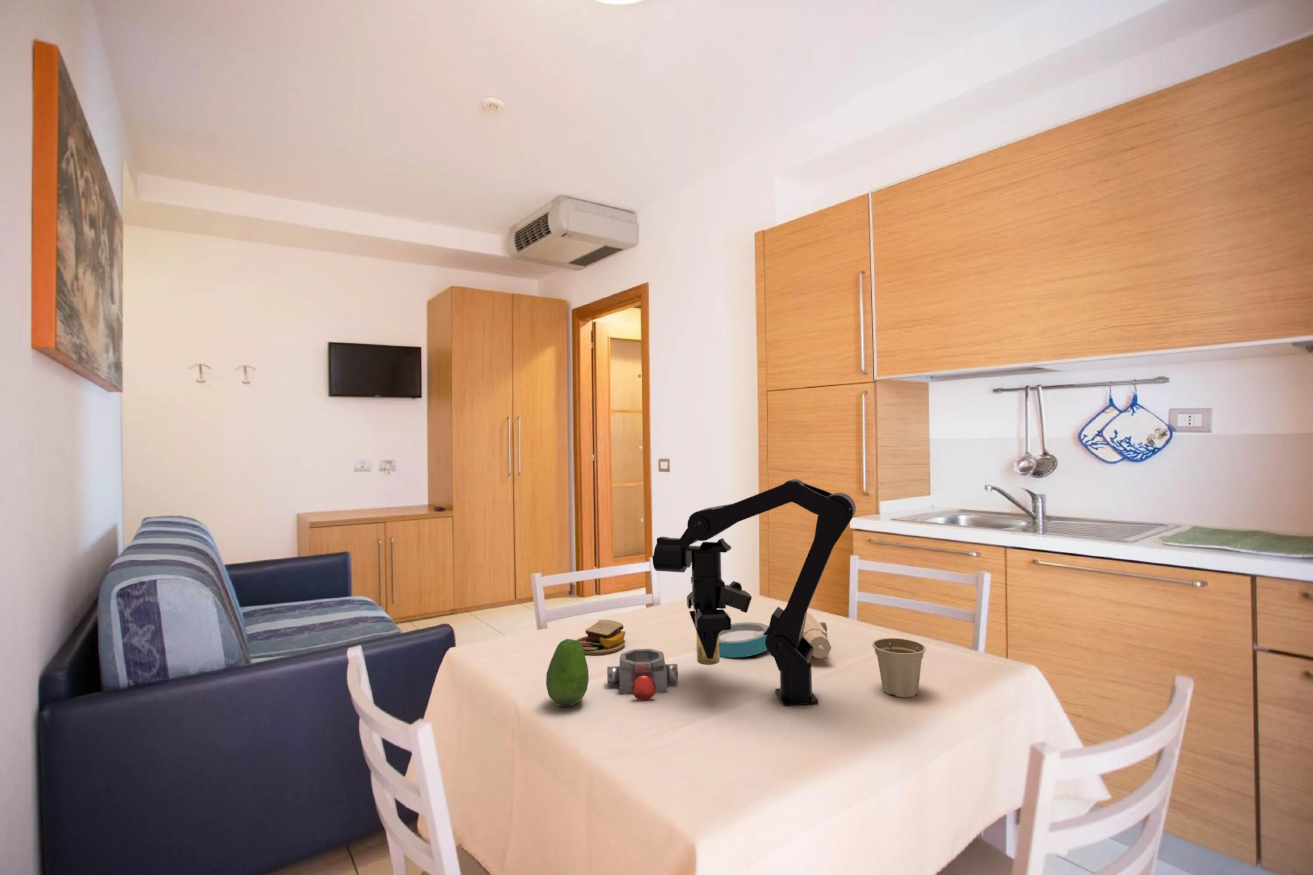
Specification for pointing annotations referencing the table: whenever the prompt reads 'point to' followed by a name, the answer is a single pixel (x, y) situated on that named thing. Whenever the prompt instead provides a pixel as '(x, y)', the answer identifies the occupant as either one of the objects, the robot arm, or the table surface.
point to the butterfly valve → (752, 639)
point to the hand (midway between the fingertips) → (708, 654)
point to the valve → (642, 673)
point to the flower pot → (899, 665)
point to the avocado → (567, 674)
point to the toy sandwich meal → (603, 638)
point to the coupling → (702, 656)
